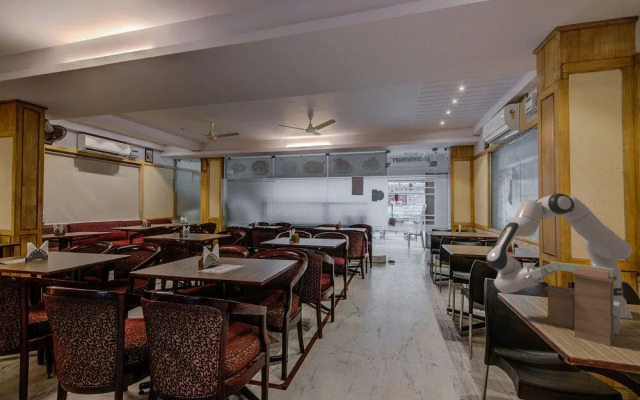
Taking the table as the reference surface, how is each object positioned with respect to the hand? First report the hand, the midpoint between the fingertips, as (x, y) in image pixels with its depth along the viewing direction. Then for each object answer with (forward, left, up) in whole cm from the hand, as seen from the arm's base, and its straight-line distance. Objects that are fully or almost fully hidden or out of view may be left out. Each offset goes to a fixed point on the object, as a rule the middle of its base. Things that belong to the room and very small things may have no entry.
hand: (561, 265), depth 140 cm
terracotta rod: (+4, +11, -2) cm, 12 cm away
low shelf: (-9, -2, -28) cm, 29 cm away
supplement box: (-15, +13, -28) cm, 35 cm away
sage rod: (0, +7, -2) cm, 7 cm away
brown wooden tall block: (+1, +11, -28) cm, 30 cm away
